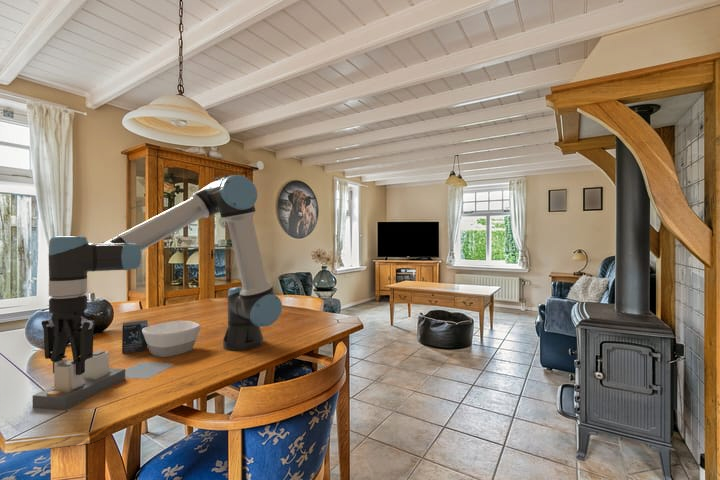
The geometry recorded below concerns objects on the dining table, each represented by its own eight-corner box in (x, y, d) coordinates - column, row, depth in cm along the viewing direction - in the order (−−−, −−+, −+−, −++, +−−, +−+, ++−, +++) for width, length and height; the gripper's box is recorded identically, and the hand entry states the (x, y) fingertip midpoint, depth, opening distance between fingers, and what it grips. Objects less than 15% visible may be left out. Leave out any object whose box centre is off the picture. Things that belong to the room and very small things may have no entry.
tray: (175, 365, 112) (175, 363, 112) (147, 380, 100) (148, 378, 100) (142, 363, 114) (142, 361, 114) (111, 378, 102) (111, 376, 102)
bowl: (159, 364, 113) (159, 336, 113) (133, 354, 122) (133, 328, 122) (208, 349, 128) (208, 325, 128) (181, 341, 138) (181, 318, 137)
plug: (109, 383, 97) (109, 350, 97) (96, 389, 93) (96, 355, 93) (96, 382, 98) (96, 349, 98) (83, 388, 94) (83, 354, 94)
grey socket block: (125, 380, 100) (125, 367, 100) (64, 412, 82) (64, 395, 82) (98, 379, 101) (98, 365, 101) (32, 409, 83) (32, 393, 83)
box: (122, 355, 122) (122, 325, 121) (122, 350, 126) (122, 322, 126) (147, 351, 126) (147, 322, 126) (147, 347, 131) (147, 319, 130)
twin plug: (83, 395, 89) (83, 360, 89) (68, 403, 86) (68, 366, 85) (69, 394, 90) (69, 359, 90) (54, 402, 86) (54, 365, 86)
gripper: (110, 294, 90) (111, 381, 90) (54, 292, 92) (54, 378, 93) (84, 299, 83) (84, 395, 83) (23, 297, 85) (24, 390, 85)
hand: (69, 386), depth 88 cm, fingers closed on twin plug, 4 cm apart
